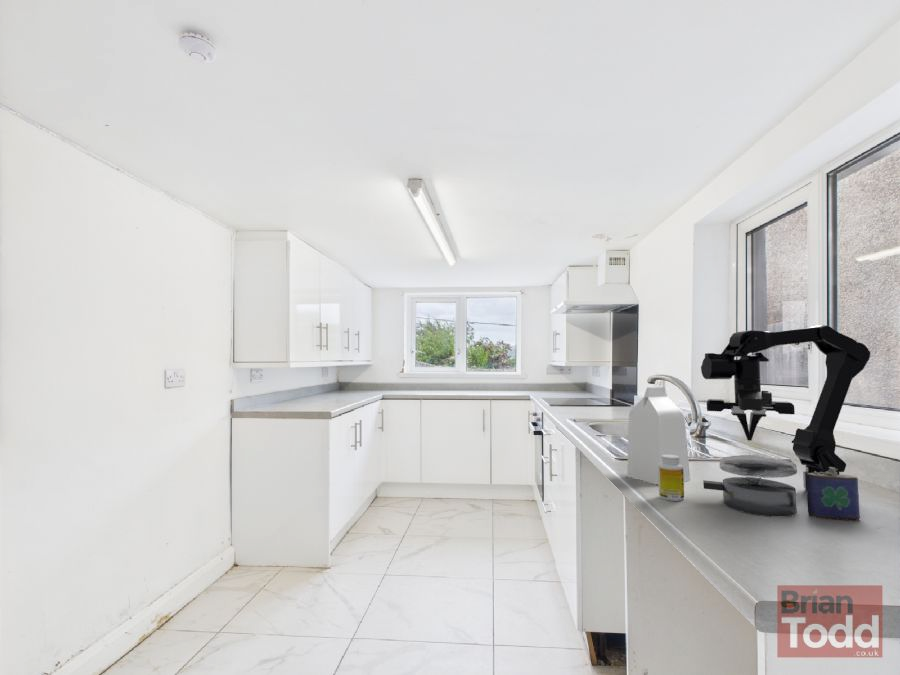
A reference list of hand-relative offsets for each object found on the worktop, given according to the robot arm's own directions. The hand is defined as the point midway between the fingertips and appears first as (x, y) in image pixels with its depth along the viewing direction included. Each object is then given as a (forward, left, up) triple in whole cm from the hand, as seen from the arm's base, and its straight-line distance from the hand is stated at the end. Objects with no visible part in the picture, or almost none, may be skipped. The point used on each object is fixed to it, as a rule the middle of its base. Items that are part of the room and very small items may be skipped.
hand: (749, 440), depth 120 cm
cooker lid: (0, +13, -5) cm, 14 cm away
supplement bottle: (+18, +15, -13) cm, 27 cm away
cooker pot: (+2, +13, -13) cm, 18 cm away
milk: (+22, -5, -13) cm, 26 cm away
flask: (-13, +16, -13) cm, 24 cm away
